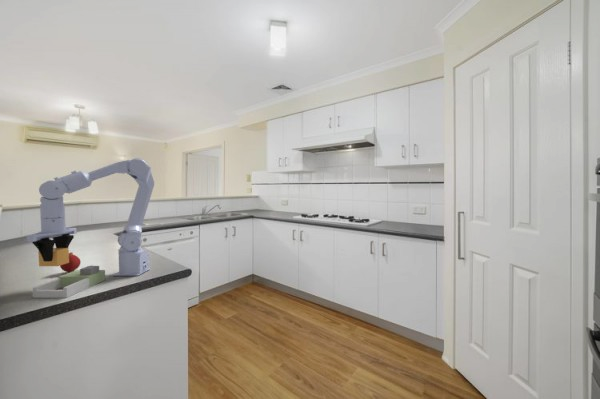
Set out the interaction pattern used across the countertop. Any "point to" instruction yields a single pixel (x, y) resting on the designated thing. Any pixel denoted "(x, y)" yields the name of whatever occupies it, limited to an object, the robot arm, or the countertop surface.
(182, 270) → the countertop surface
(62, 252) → the orange block
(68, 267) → the onion
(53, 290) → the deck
